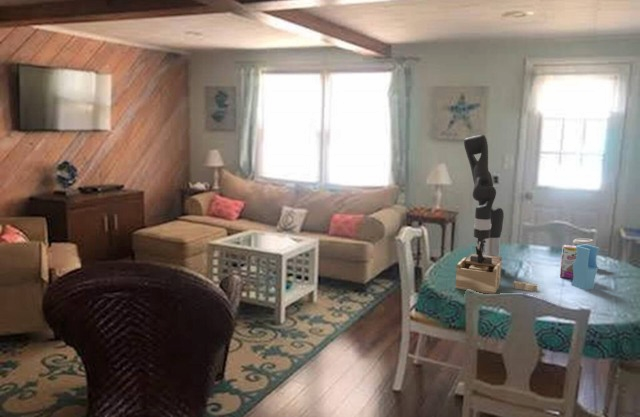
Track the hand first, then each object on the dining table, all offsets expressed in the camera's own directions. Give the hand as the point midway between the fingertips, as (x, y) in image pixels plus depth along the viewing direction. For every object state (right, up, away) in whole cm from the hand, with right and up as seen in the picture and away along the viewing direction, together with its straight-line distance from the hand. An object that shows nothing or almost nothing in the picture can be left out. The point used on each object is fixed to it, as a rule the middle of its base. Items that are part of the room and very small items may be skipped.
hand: (480, 262), depth 264 cm
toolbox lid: (+4, 0, +8) cm, 9 cm away
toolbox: (-1, -12, +1) cm, 12 cm away
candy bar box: (+52, -10, +17) cm, 56 cm away
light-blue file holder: (+51, -12, +3) cm, 53 cm away
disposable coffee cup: (+67, -6, +39) cm, 78 cm away
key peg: (+26, -12, -4) cm, 29 cm away
